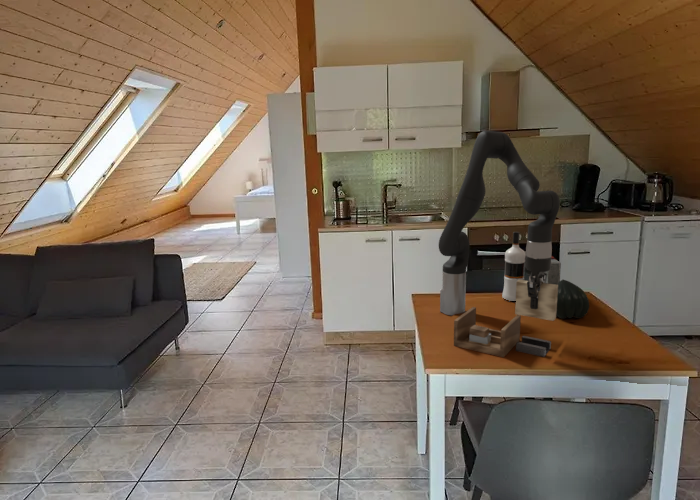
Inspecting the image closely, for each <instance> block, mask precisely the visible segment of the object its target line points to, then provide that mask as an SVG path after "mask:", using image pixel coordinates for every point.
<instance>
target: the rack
mask: <svg viewBox="0 0 700 500" xmlns="http://www.w3.org/2000/svg"><path fill="white" fill-rule="evenodd" d="M521 318H522V315H517V314H516V315H515V316H514V317H513V318H512V319H511V320H510V321H509V322H508V323H507V324H505V326H504V327H502V328H501V330H498V329H492V328H489V334H491V341H490V347H489V346H485V345H481V344H476V343H472V342H469V337H470V328H471V327H472V326H474V325H477V324H476V322H477V321H476V319H477V307H476V306H472V307H471V308H469V309H468V310H465V312H463V313H461V315H459V316H458V317H457V318H455V319H454V320H453V347H458V348H463V349H467V350H471V351H475V352H479V353H482V354H488V355H493V356H495V357H496V356H497V357H501V358H505V356H506V355H508V353H509V352H510V351H511V350H512V349H513V348H514V347H516V343H517V342H521V341H520V339H521V338H520V337H521Z"/></svg>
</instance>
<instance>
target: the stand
mask: <svg viewBox="0 0 700 500" xmlns="http://www.w3.org/2000/svg"><path fill="white" fill-rule="evenodd" d="M551 346H552V341H550V340H547V339H542V338H538V337H531V336H527V335H522V336H521V341H519V342H517V343H516V345H515V351H516V352H520V353H524V354H528V355H532V356H537V357H543V358H545V357H546V355H547V354H548V353H549V352H550V350H552V349H551Z"/></svg>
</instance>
